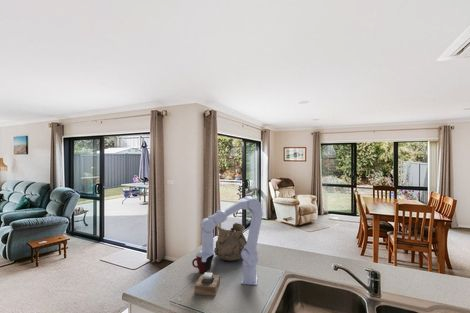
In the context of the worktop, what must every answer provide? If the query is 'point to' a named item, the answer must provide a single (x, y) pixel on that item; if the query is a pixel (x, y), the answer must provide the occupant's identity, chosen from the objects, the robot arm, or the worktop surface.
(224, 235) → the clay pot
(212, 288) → the socket block
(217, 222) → the robot arm
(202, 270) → the mug
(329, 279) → the worktop surface
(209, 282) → the plug
